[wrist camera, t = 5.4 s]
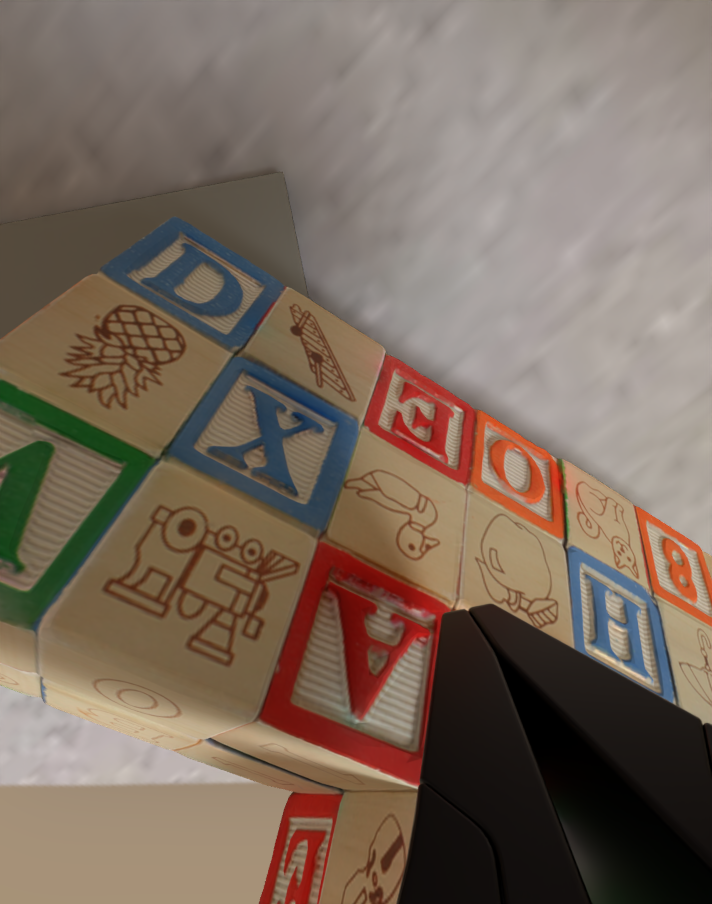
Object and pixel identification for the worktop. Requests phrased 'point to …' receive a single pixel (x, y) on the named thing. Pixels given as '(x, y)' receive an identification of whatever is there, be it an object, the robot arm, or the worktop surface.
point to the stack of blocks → (293, 546)
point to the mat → (124, 223)
